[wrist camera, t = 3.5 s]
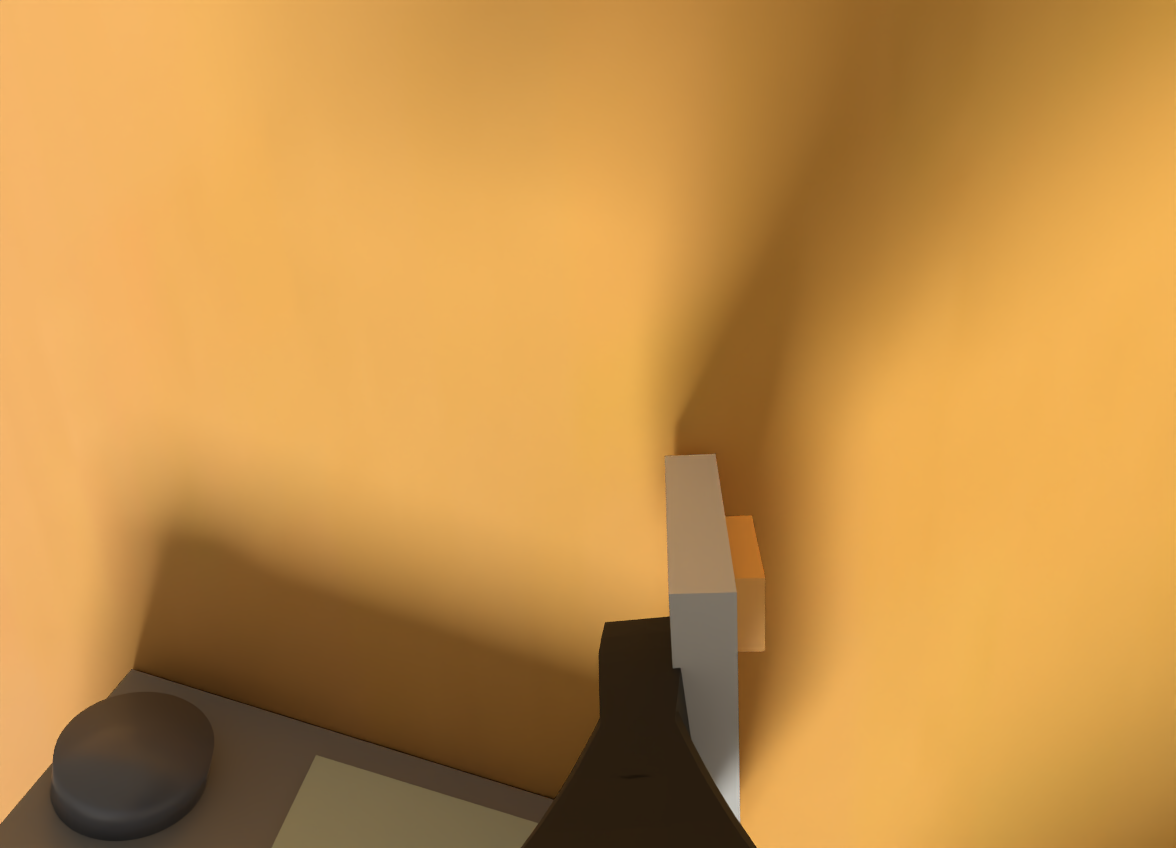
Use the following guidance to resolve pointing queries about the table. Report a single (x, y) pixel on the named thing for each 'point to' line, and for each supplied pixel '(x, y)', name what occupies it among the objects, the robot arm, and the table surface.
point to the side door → (711, 609)
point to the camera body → (248, 784)
